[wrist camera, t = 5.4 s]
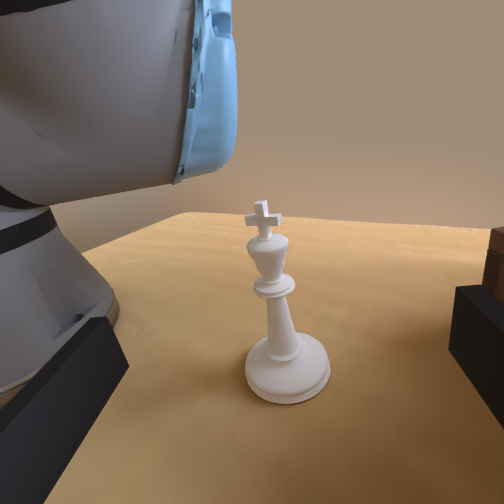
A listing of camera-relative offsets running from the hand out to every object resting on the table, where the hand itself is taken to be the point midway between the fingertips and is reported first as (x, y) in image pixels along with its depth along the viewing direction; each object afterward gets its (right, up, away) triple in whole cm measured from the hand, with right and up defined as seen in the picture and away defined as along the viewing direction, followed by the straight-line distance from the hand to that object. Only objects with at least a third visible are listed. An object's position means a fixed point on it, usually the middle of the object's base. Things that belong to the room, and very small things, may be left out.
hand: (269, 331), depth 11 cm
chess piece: (+1, -4, +6) cm, 7 cm away
